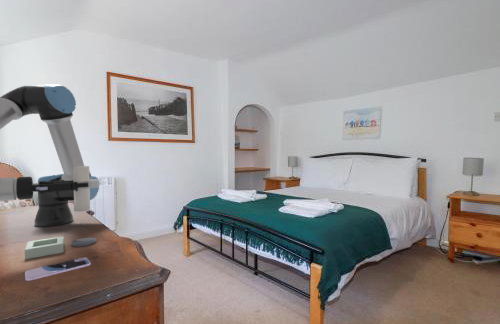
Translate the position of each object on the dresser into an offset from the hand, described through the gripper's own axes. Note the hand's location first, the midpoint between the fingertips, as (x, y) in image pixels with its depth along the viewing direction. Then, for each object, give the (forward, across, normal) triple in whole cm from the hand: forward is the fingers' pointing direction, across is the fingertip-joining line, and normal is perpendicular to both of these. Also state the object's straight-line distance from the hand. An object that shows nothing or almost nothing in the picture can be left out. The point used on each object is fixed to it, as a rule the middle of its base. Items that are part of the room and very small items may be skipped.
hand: (97, 183), depth 102 cm
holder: (-16, +2, -22) cm, 27 cm away
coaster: (-5, 0, -22) cm, 22 cm away
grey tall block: (-5, 0, -10) cm, 11 cm away
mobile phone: (-12, +22, -22) cm, 34 cm away
